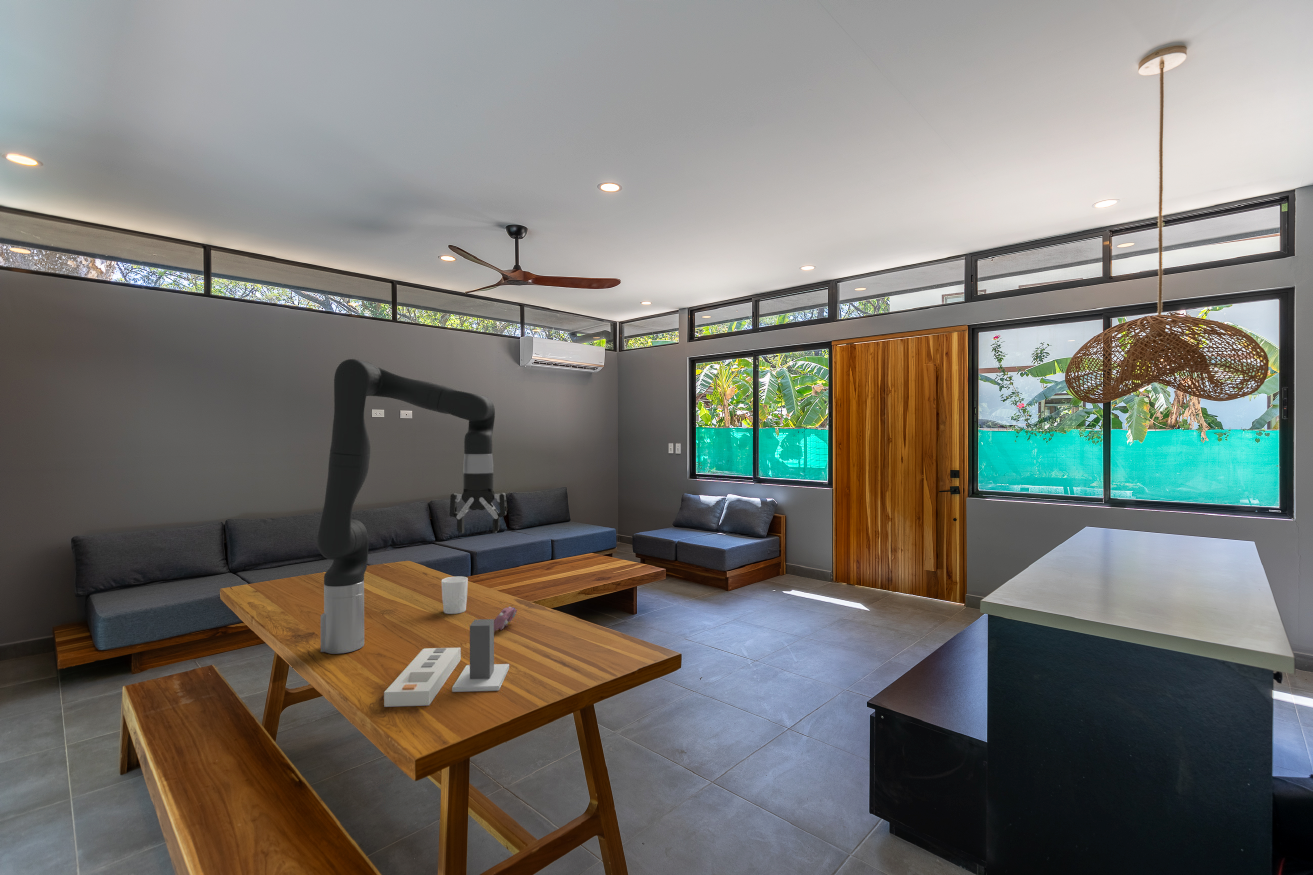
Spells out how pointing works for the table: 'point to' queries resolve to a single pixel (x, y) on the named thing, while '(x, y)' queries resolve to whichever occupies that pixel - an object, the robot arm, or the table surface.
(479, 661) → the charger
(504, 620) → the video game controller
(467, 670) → the mat
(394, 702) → the power strip
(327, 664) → the table surface
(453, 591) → the white cup
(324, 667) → the table surface
